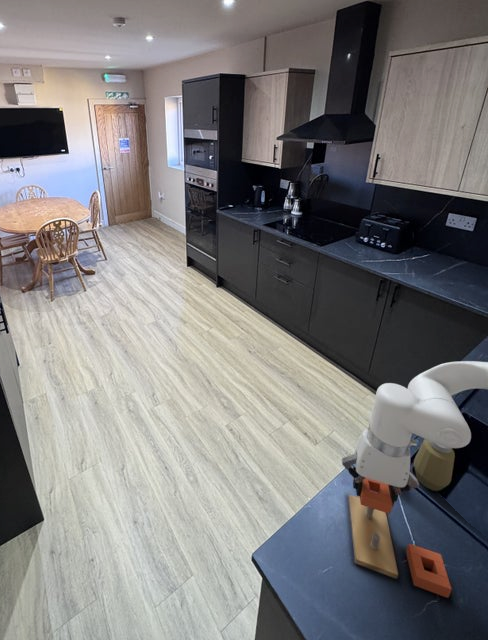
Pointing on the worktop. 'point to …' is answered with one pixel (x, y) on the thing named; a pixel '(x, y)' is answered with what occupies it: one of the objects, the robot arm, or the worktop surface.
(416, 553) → the orange square ring block
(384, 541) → the base board
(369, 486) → the pad
